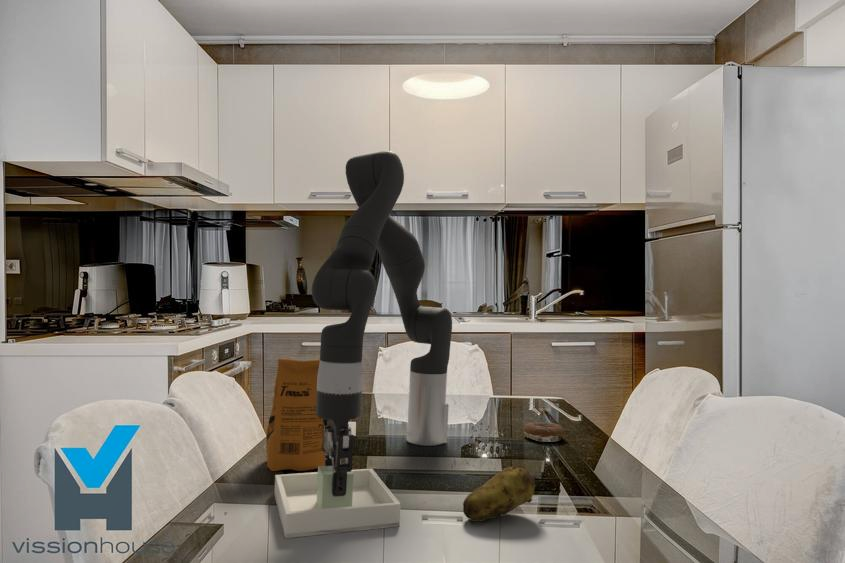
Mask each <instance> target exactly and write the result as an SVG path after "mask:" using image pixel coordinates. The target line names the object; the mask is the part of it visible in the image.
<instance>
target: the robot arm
mask: <svg viewBox="0 0 845 563" xmlns="http://www.w3.org/2000/svg"><path fill="white" fill-rule="evenodd" d="M345 177H346V181H347V185H348V187H349V188H348V189H349V190H350V194H351V195H352V198H353V199H354V201H355V203H356V205H357V207H358V208H357V209H355V211H354V212H353V213H352V214H351V215H350V217H348V218H347V220H346V221H345V223H344V225H343V227H342V229H341V231H340V234H339V238H338V240H337V242H336V243H337V244H336V247H335V248H334V250H333V251H332V253H331V254H330V255H329V256H328V258H327V259H326V260H325V261H324V263H323V264H322V265H321V266H320V268H319V269H318V270H317V272H316V274H315V276H314V278H313V282H312V285H311V296H312V297H311V298H312V299H313V302H314V304H316V306H318V308H320V309H322V310H329V311H348V312H350V313H351V314H350V316H349V318H348V319H347V321H345V322H341V323H335V324H334V323H333V324H329V325H326V326H324V327H323V328H322V330H321V332H320V333H321V334H320V348H319V350H320V352H319V359H320V363H319V369H318V375H317V394H316V415H317V416H318V417H319V418H322V419H323V442H322V451H323V452H324V453H323V456H324V458H327V459H325V466H332V471H333V478H332V494H333V496H334V497H337V496H344V495H345V494H346V486H347V472H351V470H353V452H354V441H355V436H354V435H353V434H352V429H351V428H349V426H350V425H349V422H350V421H351V420H355V419H358V418H359V417H360V416H361V414H362V399H363V398H362V397H363V378H364V376H363V374H364V373H363V362H362V361H363V349H364V348H363V347H364V346H363V344H364V335H365V330H366V326H367V323H368V318H369V315H370V313H371V309H372V306H373V305H374V301H375V297H376V295H377V282H376V278H375V277H374V275H373V273H371V271H369V269H371V267H372V266H373V263H374V261H375V257H376V252H378V255H379V259H380V260H381V263H382V265H383V268H384V270H385V273H386V276H387V277H388V279H389V281H390V285H391V287H392V290H393V293H394V295H395V296H394V297H395V298H396V302H397V305H398V308H399V312H400V316H401V319H402V323H403V326H404V331H405V333H406V335H407V338H408V339H409V340H410V341H412V342H413V343H418V344H423V345H424V344H425V345H430V348H429V350H428V352H427V353H426V354H424V355H422V356H418V357H414V358H412V359H411V361H410V364H409V365H410V366H409V367H410V368H409V369H410V370H409V383H408V385H409V386H408V390H409V391H408V405H407V406H408V408H407V409H408V410H407V428H406V430H407V431H406V441H407V442H408V443H410V444H413V445H418V446H423V447H424V446H426V447H427V446H430V447H431V446H438V445H442V444H447V443H448V429H449V428H448V425H449V404H448V403H447V382H448V380H447V379H448V365H449V360H450V351H451V342H452V332H453V318H452V315H451V312H450V311H449V309H447V308H446V307H434V306H423V305H422V304H421V303H420V300H419V297H418V289H419V286H420V284H421V282H422V279H423V276H424V273H425V268H426V265H425V259H424V256H423V254H422V253H423V252H422V251H421V247H420V243H419V242H418V240H417V238H416V237H415V235H414V234H413V233H412V232H411V231H410V230H409V229H407V227H405V226H404V225H403V224H401V223H400V222H399V221H398V220H396V219H395V218H394V217H393V216H391V213H392V211H393V209H394V207H395V205H396V203H397V201H398V199H399V198H400V195H401V193H402V191H403V186H404V184H405V183H404V182H405V170H404V167H403V163H402V161H401V159H400V157H399V155H398V154H397V153H396V152H394V151H391V150H384V151H378V152H373V153H369V154H366V153H365V154H362V155H358V156H357V155H356V156H353V157H351V158H349V159H348V160H347V162H346V164H345ZM341 459H343V464H341V463H340V462H341Z"/></svg>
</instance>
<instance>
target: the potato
mask: <svg viewBox="0 0 845 563" xmlns="http://www.w3.org/2000/svg"><path fill="white" fill-rule="evenodd" d="M535 488H536V481H535V478H534V477H533V475H532V474H531V473H530V472H529V471H527V470H525V468H521V467H519V466H509V467H505V468H504V469H502V470H501V471H499V472H497V473H496V474H494V475H493V476H492V477H491V478H490V479H489V480H487V481H486V482H485V483H484V484H483V485H481V486H480V487H478V488H476V489H475V490H473V491H471V493H469V494H468V495H467V496H466V497H465V499H464V501H463V503H462V508H463V509H462V510H463V514H464V516H465V517H466V518H467V519H469V520H471V522H482V521H485V520H488V519H497V518H499V517H502V516H504V515H506V514H508V513H511V511H513V510H514V509H516V508H518V507H520V506H522V505H523V504H526V503H531V502H532V501H533V496H534V494H535Z"/></svg>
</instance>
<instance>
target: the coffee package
mask: <svg viewBox="0 0 845 563" xmlns="http://www.w3.org/2000/svg"><path fill="white" fill-rule="evenodd" d="M319 363H320V358H319V359H313V360H296V359H291V358H281V357H278V361H277V370H276V371H277V372H276V377H275V384H274V389H273V391H274V395H273V398H272V406H271V407H272V408H271V413H270V415H269V418H268V424H267V430H266V443H265V444H266V446H265V447H266V450H265V452H266V460H267V461H266V466H267V468H268V469H269V471H271V472H278V471H279V472H280V471H284V470H293V471H297V472H303V471H304V472H305V471H312V470H313V471H314V470H318V466H325V459H327V458H324V456H323V453H324V452H323V451H322V442H323V419H322V418H319V417H318V416H317V415H316V394H317V375H318V369H319Z"/></svg>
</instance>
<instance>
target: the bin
mask: <svg viewBox="0 0 845 563" xmlns="http://www.w3.org/2000/svg"><path fill="white" fill-rule="evenodd" d="M351 471H352V472H353V474H354V478H353V498H352V506H349V507H338V508H327V509H319V507H318V504H317V502H316V501H317V481H318V471H314V472H312V471H311V472H302V473H301V472H298V473H287V474H286V473H285V474H284V473H283V474H275V475H274V494H273V495H274V500H275V502H276V503H275V504H276V507H277V511H278V515H279V520H280V523H281V527H282V530H283V531H282V532H283V536H284V538H285V539H292V538H300V537H302V538H303V537H309V536H310V537H311V536H318V535H319V536H320V535H329V534H330V535H331V534H339V533H349V532H358V531H359V532H360V531H367V530H368V531H369V530H376V529H377V530H378V529H388V528H389V529H390V528H394V527H395V528H396V527H397V528H398V527H400V525H401V524H400V523H401V508H402V507H401V502H400V501H399V499H397V497H396V496H395V495H394V494H393V493H392V492H391V490H390V488H389V487H387V484H386V483H384V481H383V480H382V479H381V478H380V476H379V475H378V474H377V472H376V471H375V470H374V469H373V468H361V469H360V468H359V469H352V470H351Z"/></svg>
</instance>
